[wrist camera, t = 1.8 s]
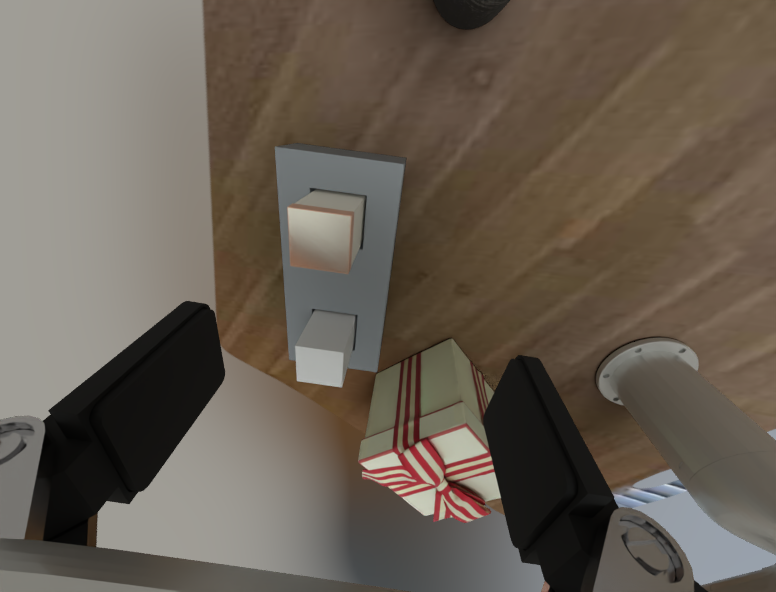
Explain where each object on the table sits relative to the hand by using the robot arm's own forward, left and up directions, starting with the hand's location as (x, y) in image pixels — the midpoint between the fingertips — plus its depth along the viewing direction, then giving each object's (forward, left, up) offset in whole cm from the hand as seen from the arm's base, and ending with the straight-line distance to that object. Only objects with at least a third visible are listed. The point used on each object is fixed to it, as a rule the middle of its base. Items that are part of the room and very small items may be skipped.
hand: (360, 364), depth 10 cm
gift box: (-29, +12, -29) cm, 43 cm away
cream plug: (+2, +6, -29) cm, 29 cm away
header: (-3, +10, -29) cm, 31 cm away
